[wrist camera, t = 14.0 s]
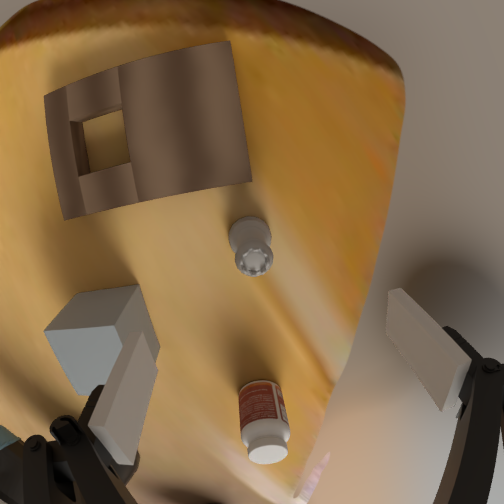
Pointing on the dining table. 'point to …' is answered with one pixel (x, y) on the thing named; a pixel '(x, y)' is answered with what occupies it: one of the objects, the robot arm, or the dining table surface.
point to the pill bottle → (263, 422)
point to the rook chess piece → (251, 246)
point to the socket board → (151, 130)
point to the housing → (98, 333)
